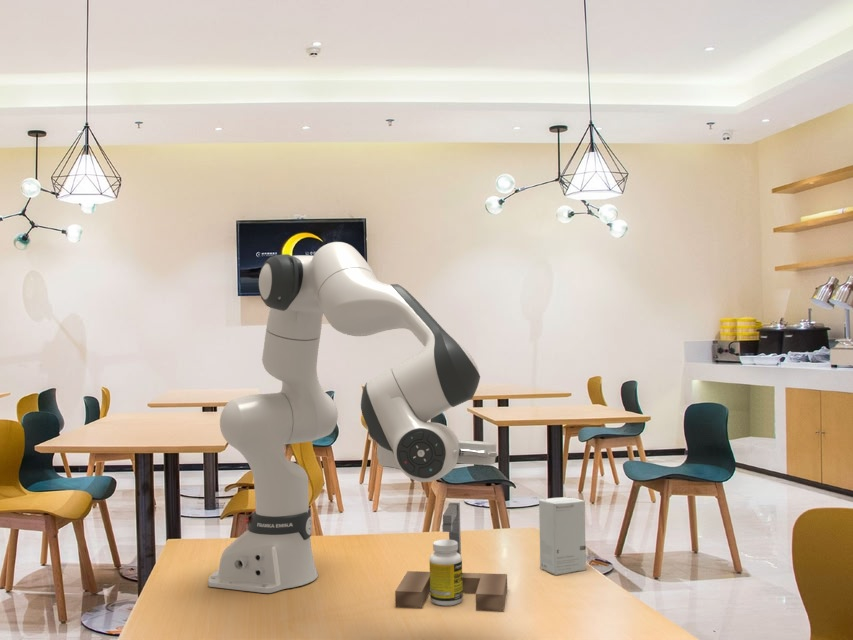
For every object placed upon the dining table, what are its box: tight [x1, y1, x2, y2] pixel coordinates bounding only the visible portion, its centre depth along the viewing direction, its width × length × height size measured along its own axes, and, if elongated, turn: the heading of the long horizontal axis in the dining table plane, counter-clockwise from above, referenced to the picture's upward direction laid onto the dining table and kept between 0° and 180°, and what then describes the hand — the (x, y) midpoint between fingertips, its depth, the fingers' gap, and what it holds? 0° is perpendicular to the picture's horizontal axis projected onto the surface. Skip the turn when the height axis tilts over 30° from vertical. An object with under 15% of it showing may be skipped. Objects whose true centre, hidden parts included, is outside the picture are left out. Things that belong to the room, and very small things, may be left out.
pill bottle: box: [429, 538, 464, 607], centre depth 143 cm, size 6×6×11 cm
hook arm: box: [441, 502, 462, 556], centre depth 144 cm, size 2×12×17 cm, turn 170°
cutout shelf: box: [394, 570, 508, 612], centre depth 144 cm, size 20×12×3 cm, turn 80°
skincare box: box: [538, 496, 587, 576], centre depth 160 cm, size 8×6×15 cm
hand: (440, 447), depth 134 cm, fingers open, 8 cm apart
